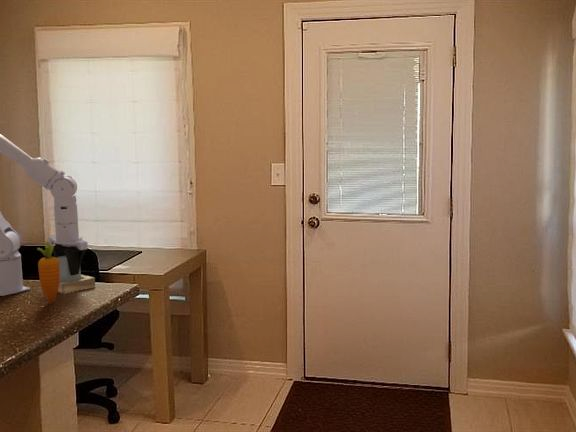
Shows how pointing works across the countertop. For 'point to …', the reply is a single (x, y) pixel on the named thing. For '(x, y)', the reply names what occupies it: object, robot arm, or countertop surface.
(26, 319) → the countertop surface
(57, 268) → the carrot
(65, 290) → the birch well block
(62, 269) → the slate square peg
